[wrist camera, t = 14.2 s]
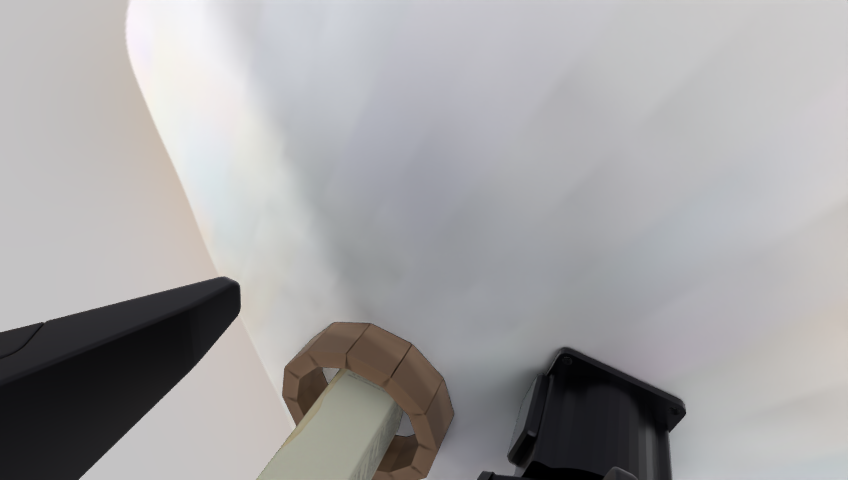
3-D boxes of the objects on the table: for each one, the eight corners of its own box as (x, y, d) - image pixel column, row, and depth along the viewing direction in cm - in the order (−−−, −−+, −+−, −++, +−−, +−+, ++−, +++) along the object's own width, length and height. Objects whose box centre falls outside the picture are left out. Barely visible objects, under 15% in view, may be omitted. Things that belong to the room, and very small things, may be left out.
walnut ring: (472, 374, 27) (455, 410, 24) (428, 470, 33) (412, 508, 31) (317, 296, 29) (288, 323, 27) (303, 400, 35) (279, 429, 33)
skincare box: (355, 346, 30) (219, 514, 20) (414, 373, 29) (300, 564, 19) (348, 405, 33) (228, 574, 23) (401, 431, 32) (298, 621, 22)
